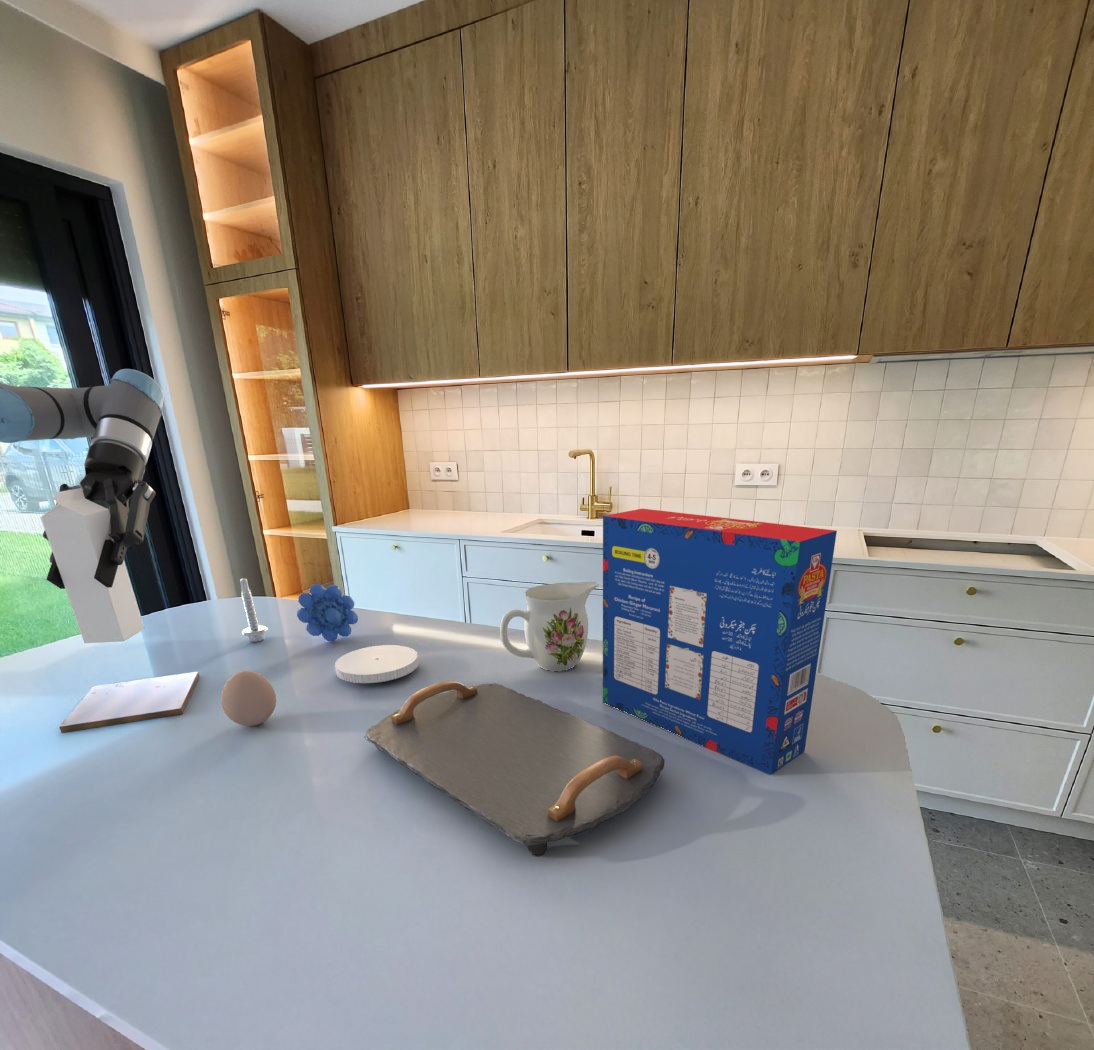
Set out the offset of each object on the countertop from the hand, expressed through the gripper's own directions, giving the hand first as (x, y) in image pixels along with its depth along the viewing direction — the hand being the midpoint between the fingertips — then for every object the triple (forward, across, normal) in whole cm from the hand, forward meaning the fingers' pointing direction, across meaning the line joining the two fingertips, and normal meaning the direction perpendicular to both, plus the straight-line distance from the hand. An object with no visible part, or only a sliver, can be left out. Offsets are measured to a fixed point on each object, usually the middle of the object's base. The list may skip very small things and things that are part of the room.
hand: (79, 583), depth 90 cm
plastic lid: (+6, -38, -24) cm, 45 cm away
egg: (+19, -24, -10) cm, 32 cm away
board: (+13, -1, -16) cm, 21 cm away
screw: (-8, -7, -37) cm, 38 cm away
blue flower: (-6, -24, -35) cm, 43 cm away
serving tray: (+28, -62, -1) cm, 68 cm away
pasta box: (+21, -88, -8) cm, 91 cm away
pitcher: (+5, -68, -25) cm, 72 cm away
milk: (+4, 0, -9) cm, 10 cm away
